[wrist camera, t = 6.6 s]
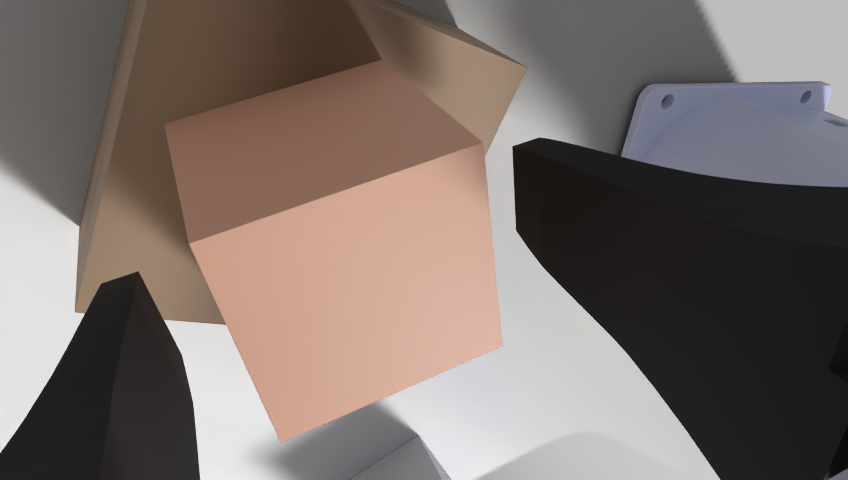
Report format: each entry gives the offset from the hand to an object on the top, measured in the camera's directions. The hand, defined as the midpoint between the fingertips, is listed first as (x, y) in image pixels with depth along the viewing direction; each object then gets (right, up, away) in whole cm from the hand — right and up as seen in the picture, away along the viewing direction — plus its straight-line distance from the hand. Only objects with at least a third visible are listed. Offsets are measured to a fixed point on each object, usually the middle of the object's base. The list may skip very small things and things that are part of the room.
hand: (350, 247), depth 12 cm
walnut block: (-3, +3, +5) cm, 7 cm away
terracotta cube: (-1, +1, +2) cm, 3 cm away
